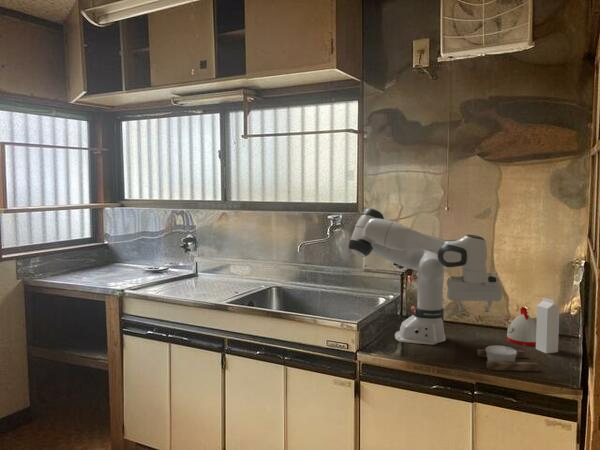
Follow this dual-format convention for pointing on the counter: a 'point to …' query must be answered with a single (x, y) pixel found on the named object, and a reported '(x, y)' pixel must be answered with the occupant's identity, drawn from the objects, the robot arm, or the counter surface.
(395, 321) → the counter surface
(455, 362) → the counter surface
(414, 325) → the robot arm
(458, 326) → the counter surface
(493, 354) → the ramekin
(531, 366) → the parallel wooden rails
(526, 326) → the kitchen timer
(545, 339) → the milk
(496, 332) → the counter surface
